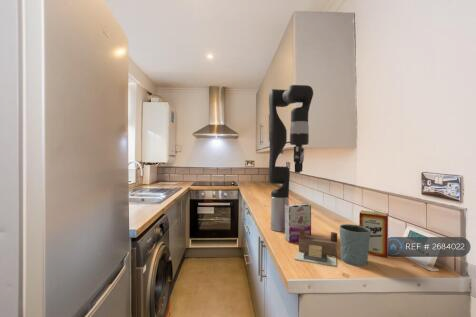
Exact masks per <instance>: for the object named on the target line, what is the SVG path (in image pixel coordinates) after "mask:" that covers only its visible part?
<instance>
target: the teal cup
mask: <svg viewBox="0 0 476 317" xmlns="http://www.w3.org/2000/svg"><path fill="white" fill-rule="evenodd" d="M370 233H371V231H370V229H368V228H366V227H363V226H359V225H357V224H340V226H339V238H340V259H341V261H342V262H343V263H344V264H347V265H352V266H355V267H364V266H367V264H368V260H369V259H368V258H369V254H368V249H369V239H370Z"/></svg>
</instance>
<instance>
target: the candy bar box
mask: <svg viewBox="0 0 476 317" xmlns="http://www.w3.org/2000/svg"><path fill="white" fill-rule="evenodd" d="M301 225H302V226H305V235H308V236H312V204H310V203H306V202H303V203H300V202H299V203H289V204H285V231H284V240H285V239H286V240H285V241H287V242H288V241H289V242H288V243H290V242H291V243H299V237H300V227H301Z"/></svg>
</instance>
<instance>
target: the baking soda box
mask: <svg viewBox="0 0 476 317" xmlns="http://www.w3.org/2000/svg"><path fill="white" fill-rule="evenodd" d="M358 217H359V225H358V226H363V227H366V228H368V229H370V231H371V233H370V239H369V249H368V255H372V256H376V257H382V258H388V256H389V213H388V212H381V211H373V210H372V211H370V210H361V211H360V212H359V216H358Z"/></svg>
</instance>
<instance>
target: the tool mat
mask: <svg viewBox="0 0 476 317" xmlns="http://www.w3.org/2000/svg"><path fill="white" fill-rule="evenodd" d="M303 258H304V252H299V251H296V254H295V257H294V261H300V262H306V263H312V264H318V265H326V266H333V267H337V257H334V256H327V262H322V261H316V260H309V259H303Z"/></svg>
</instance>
